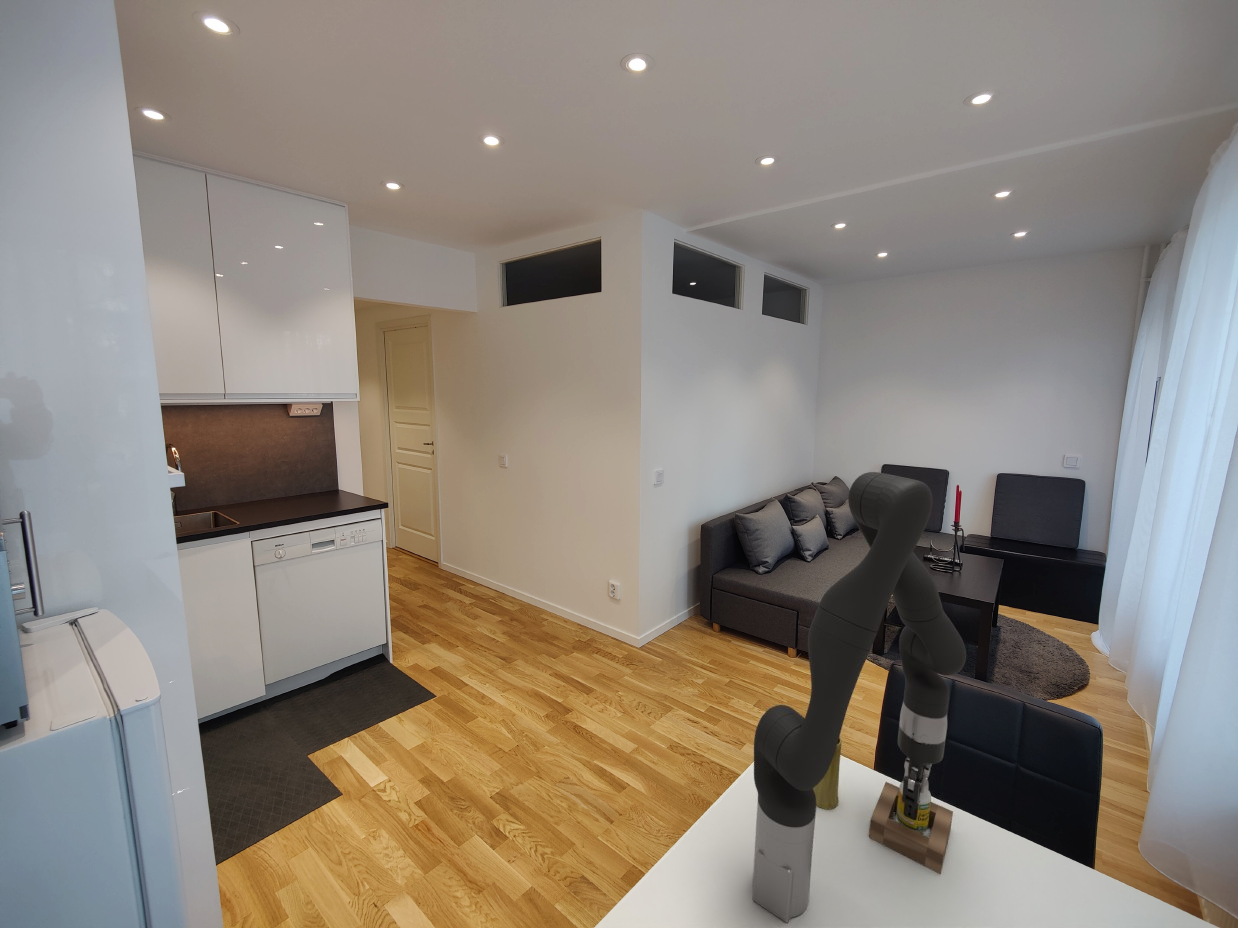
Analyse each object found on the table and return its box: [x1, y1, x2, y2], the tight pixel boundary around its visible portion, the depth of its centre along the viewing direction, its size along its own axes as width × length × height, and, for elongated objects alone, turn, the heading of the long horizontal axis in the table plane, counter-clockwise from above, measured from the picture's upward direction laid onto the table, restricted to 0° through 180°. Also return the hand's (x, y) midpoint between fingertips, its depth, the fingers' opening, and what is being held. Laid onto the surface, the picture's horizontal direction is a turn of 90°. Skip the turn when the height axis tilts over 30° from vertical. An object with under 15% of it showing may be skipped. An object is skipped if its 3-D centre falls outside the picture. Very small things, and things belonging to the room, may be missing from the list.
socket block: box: [868, 781, 954, 875], centre depth 102 cm, size 12×12×4 cm
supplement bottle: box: [896, 774, 932, 834], centre depth 101 cm, size 5×5×10 cm
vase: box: [813, 736, 843, 810], centre depth 110 cm, size 6×6×14 cm
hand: (913, 806), depth 102 cm, fingers closed on supplement bottle, 5 cm apart
